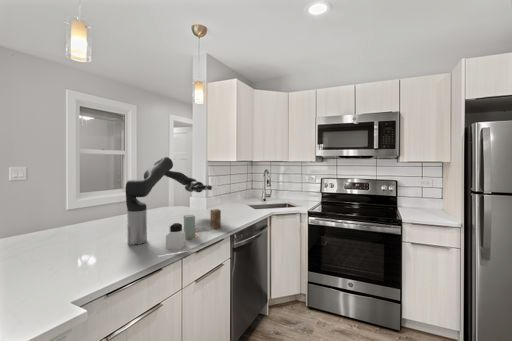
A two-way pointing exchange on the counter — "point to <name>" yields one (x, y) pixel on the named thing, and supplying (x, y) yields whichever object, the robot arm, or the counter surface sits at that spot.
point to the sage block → (189, 226)
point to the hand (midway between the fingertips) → (204, 188)
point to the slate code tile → (200, 229)
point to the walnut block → (215, 219)
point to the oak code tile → (193, 238)
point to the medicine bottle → (175, 237)
